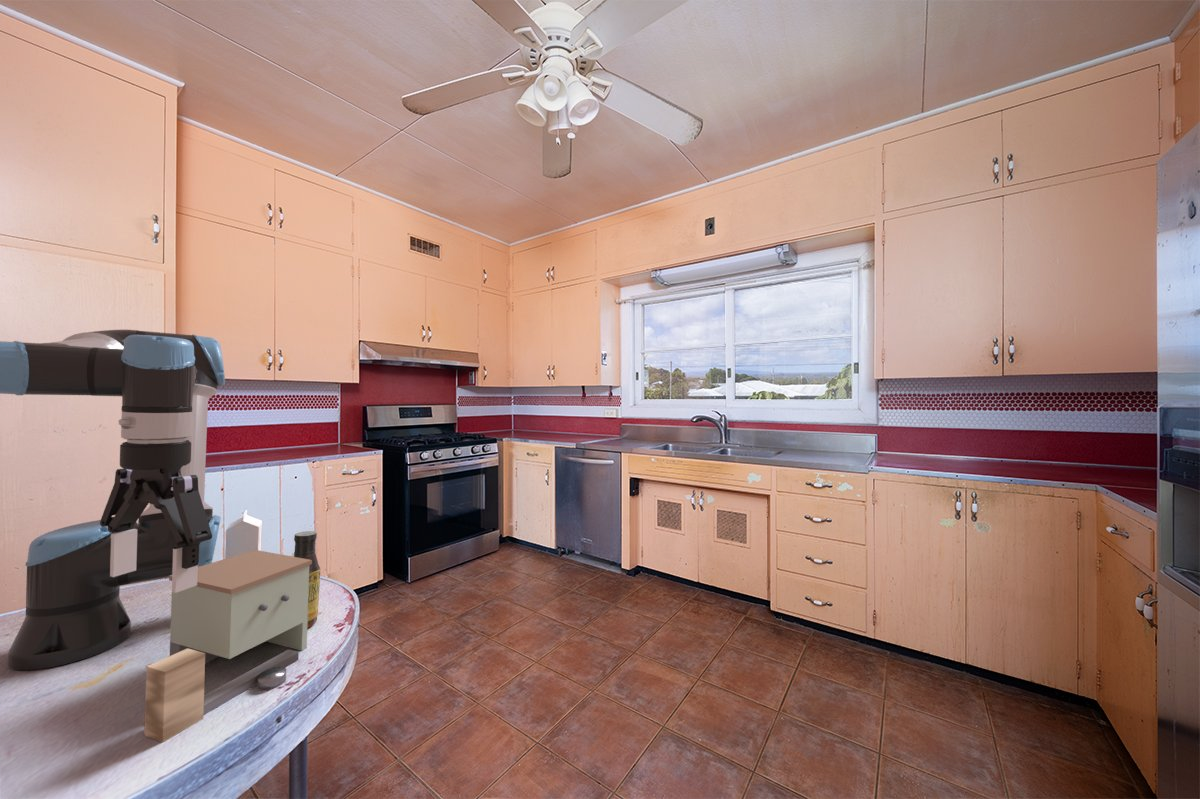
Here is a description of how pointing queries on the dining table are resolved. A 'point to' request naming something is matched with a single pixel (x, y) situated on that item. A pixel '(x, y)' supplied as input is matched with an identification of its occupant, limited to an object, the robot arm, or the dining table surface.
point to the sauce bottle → (307, 551)
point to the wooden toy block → (191, 691)
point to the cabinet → (242, 605)
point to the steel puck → (271, 678)
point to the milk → (243, 536)
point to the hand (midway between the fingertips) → (153, 581)
